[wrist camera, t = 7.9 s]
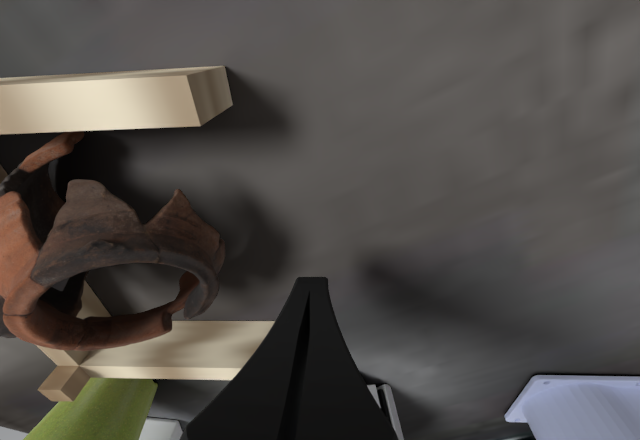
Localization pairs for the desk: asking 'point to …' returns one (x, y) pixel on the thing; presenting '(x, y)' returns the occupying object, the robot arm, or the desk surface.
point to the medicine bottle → (161, 429)
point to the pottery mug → (91, 256)
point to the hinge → (387, 406)
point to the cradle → (79, 366)
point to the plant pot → (100, 412)
